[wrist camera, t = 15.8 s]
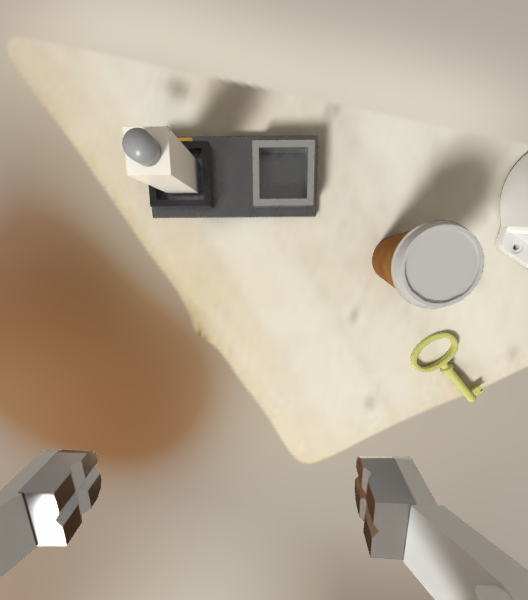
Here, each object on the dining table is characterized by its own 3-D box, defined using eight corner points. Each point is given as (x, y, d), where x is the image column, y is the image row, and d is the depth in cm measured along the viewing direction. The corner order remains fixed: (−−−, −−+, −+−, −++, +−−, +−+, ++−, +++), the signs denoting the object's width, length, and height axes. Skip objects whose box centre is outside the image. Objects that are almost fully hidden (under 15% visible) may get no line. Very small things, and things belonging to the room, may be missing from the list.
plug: (198, 162, 40) (160, 118, 25) (200, 194, 40) (163, 169, 26) (168, 162, 40) (111, 118, 25) (170, 194, 40) (116, 170, 26)
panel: (316, 138, 40) (320, 128, 37) (314, 216, 42) (318, 214, 39) (149, 139, 40) (138, 130, 37) (155, 218, 42) (145, 216, 39)
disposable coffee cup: (413, 298, 44) (467, 321, 33) (351, 282, 44) (383, 298, 32) (437, 234, 42) (504, 233, 31) (373, 216, 42) (415, 208, 30)
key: (465, 398, 48) (475, 405, 46) (403, 360, 47) (409, 366, 45) (495, 362, 47) (506, 367, 45) (431, 322, 46) (439, 326, 44)
